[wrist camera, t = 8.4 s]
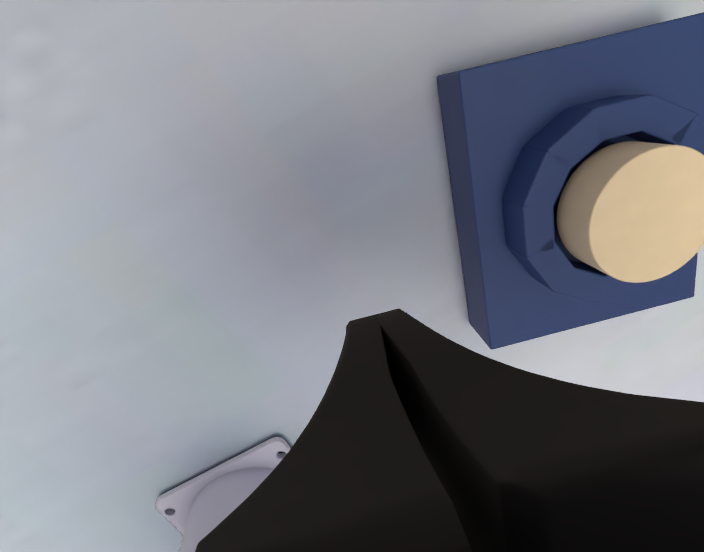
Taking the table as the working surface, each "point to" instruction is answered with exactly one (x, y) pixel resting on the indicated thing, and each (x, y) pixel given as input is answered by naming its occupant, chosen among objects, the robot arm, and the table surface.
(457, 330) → the table surface
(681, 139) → the button base
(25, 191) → the table surface
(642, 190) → the disc
